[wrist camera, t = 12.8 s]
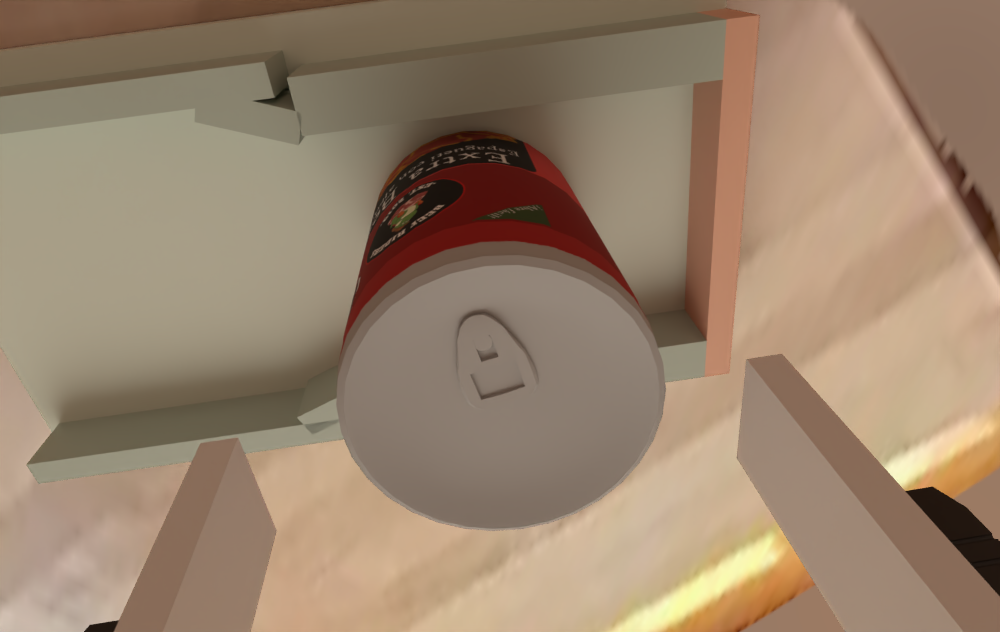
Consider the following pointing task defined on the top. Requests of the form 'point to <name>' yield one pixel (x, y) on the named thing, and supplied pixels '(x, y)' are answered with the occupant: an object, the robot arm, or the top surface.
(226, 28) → the grey miter box
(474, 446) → the canned food
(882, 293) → the top surface
